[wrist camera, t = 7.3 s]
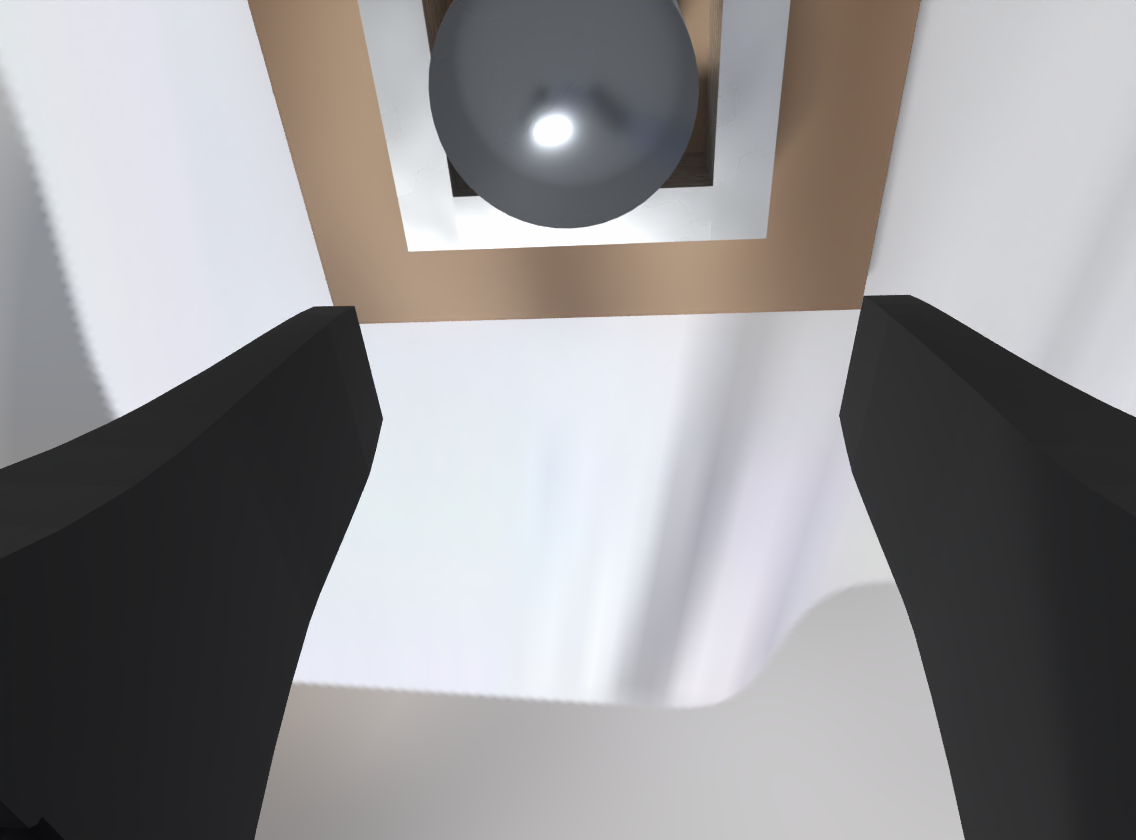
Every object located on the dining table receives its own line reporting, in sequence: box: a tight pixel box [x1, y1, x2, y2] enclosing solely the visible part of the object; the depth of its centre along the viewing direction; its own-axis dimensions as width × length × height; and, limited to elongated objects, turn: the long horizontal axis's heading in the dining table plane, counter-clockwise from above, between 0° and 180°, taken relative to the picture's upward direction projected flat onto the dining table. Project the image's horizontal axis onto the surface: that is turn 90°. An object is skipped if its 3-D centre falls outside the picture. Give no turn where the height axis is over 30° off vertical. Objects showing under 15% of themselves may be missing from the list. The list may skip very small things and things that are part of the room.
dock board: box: [248, 0, 921, 324], centre depth 16 cm, size 14×14×1 cm
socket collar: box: [357, 0, 791, 251], centre depth 15 cm, size 8×8×2 cm
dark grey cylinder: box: [428, 0, 699, 229], centre depth 14 cm, size 4×4×6 cm
